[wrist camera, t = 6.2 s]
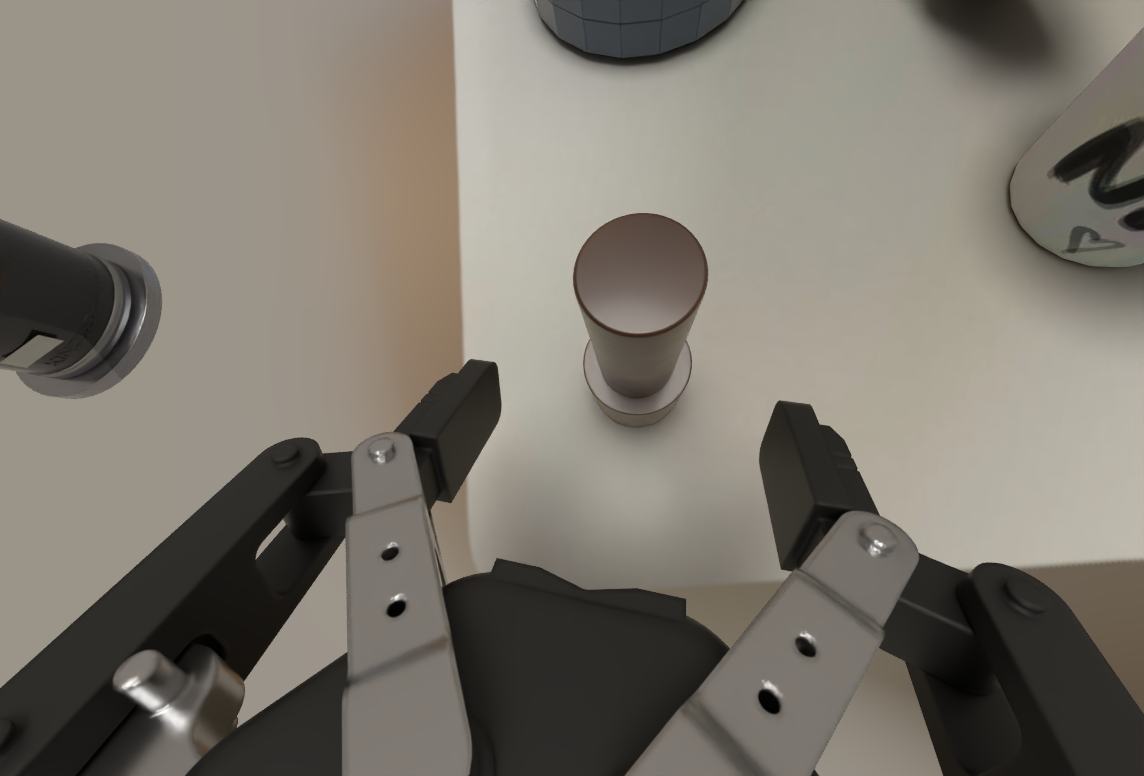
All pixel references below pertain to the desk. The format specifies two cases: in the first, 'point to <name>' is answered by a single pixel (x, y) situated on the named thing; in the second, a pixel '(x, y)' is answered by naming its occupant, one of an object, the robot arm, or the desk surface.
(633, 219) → the pestle
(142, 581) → the robot arm
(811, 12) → the desk surface
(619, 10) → the bowl
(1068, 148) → the mug
